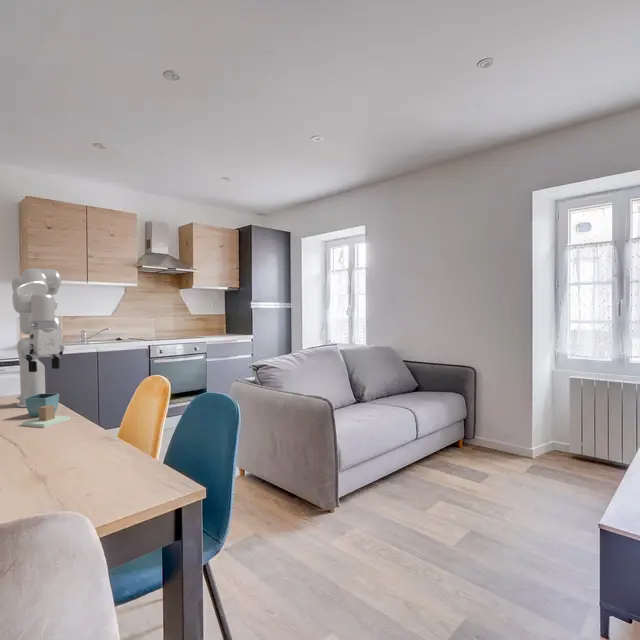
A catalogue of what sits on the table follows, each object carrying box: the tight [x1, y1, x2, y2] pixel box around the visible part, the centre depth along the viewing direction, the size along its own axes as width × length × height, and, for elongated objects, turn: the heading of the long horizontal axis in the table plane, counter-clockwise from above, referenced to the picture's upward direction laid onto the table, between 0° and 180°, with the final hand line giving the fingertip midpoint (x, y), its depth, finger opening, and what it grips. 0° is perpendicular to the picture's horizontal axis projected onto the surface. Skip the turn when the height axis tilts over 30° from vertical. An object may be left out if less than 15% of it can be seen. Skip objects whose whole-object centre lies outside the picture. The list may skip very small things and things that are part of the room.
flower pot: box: [25, 393, 60, 418], centre depth 167 cm, size 9×9×9 cm
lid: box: [21, 405, 72, 429], centre depth 156 cm, size 11×11×6 cm
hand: (44, 370), depth 156 cm, fingers open, 9 cm apart
